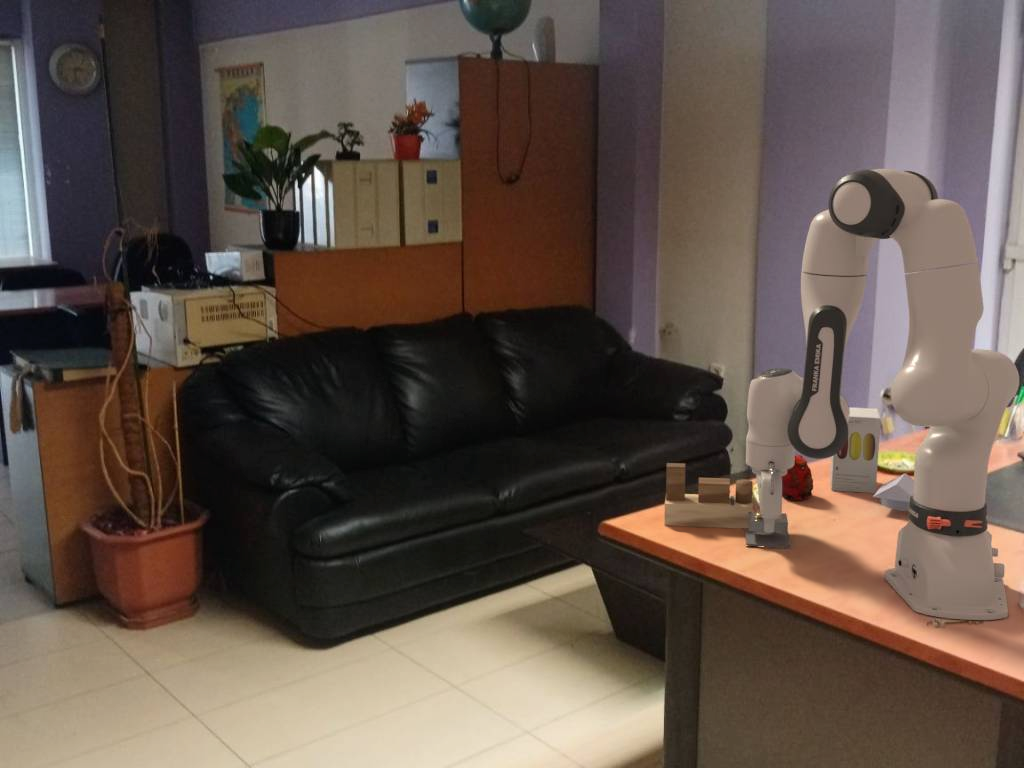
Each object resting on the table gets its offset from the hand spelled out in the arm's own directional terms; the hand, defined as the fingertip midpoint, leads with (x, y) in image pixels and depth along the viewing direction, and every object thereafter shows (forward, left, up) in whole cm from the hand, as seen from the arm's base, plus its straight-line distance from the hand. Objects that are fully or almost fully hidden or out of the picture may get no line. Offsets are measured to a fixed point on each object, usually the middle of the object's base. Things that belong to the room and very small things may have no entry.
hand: (767, 525), depth 193 cm
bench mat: (0, 0, -3) cm, 3 cm away
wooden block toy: (+9, +11, -3) cm, 14 cm away
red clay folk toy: (+27, -7, -3) cm, 28 cm away
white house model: (+23, -28, -3) cm, 36 cm away
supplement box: (+36, -20, -3) cm, 41 cm away
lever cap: (0, 0, 0) cm, 0 cm away
